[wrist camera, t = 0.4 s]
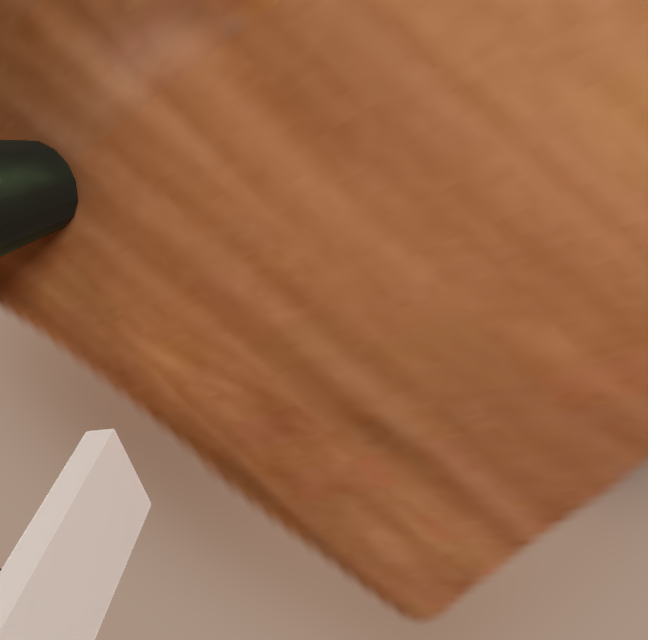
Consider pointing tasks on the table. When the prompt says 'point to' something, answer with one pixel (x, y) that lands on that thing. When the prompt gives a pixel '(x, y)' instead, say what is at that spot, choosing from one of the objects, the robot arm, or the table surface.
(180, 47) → the table surface
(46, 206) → the potion bottle
